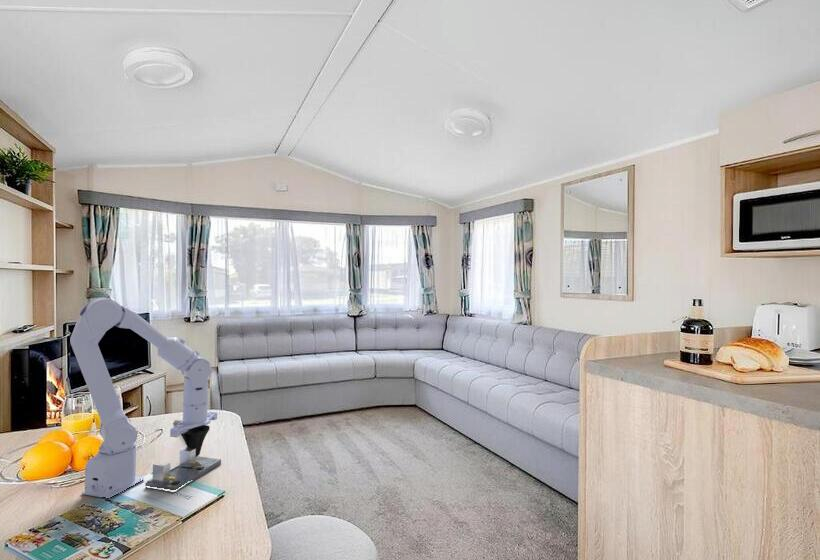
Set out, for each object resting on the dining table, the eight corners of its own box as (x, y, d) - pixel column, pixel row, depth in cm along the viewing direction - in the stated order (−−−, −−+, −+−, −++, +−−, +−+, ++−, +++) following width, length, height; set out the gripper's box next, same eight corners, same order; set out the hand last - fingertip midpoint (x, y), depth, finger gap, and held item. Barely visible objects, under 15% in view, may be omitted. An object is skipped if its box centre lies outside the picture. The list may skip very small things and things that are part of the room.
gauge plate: (174, 492, 99) (174, 470, 99) (145, 488, 101) (145, 465, 101) (221, 464, 114) (221, 444, 114) (195, 460, 116) (195, 440, 116)
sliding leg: (197, 468, 108) (198, 452, 108) (179, 465, 109) (179, 450, 109) (203, 465, 110) (203, 449, 110) (185, 462, 111) (185, 447, 111)
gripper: (187, 412, 104) (186, 469, 104) (227, 397, 118) (226, 446, 118) (163, 410, 106) (162, 465, 106) (205, 394, 120) (203, 443, 120)
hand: (194, 455), depth 112 cm, fingers closed
